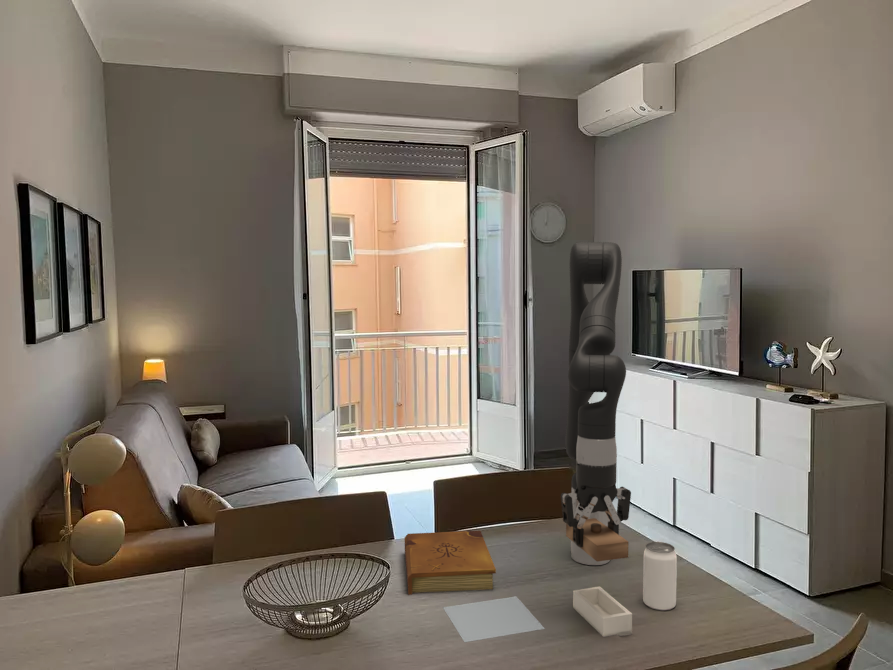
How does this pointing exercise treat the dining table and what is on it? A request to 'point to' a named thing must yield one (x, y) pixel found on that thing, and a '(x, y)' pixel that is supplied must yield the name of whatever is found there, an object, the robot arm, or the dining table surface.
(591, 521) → the lid
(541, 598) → the dining table surface
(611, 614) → the dish
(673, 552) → the can
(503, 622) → the mat
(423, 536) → the diary
